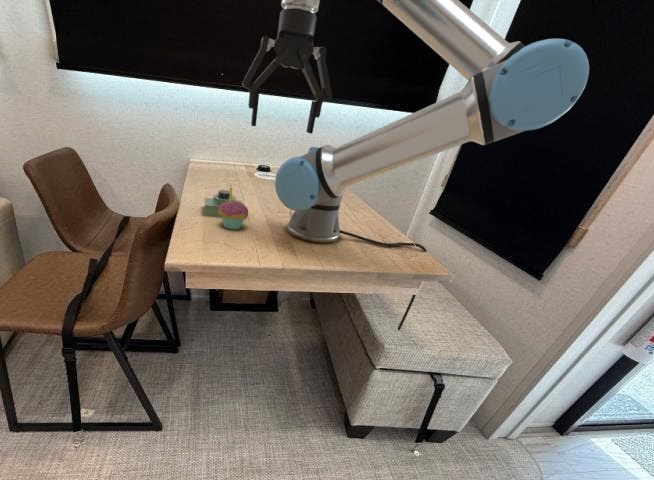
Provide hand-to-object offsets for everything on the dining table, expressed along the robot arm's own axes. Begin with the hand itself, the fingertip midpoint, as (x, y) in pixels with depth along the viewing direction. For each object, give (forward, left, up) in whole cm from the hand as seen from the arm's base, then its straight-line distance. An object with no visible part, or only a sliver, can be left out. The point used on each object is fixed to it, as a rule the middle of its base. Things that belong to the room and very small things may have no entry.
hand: (281, 129), depth 77 cm
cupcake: (+9, -6, -27) cm, 29 cm away
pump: (+11, -18, -22) cm, 31 cm away
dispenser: (+11, -18, -27) cm, 34 cm away
